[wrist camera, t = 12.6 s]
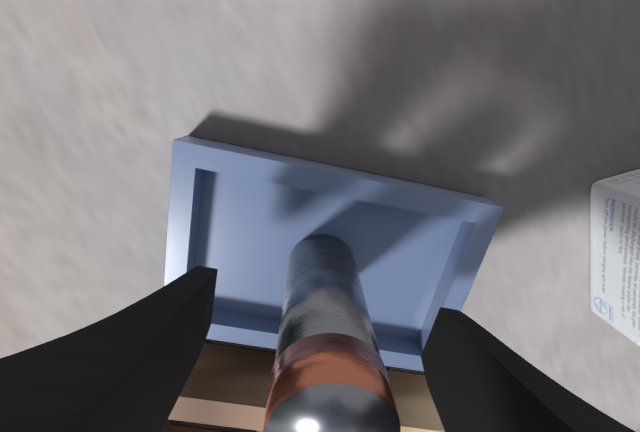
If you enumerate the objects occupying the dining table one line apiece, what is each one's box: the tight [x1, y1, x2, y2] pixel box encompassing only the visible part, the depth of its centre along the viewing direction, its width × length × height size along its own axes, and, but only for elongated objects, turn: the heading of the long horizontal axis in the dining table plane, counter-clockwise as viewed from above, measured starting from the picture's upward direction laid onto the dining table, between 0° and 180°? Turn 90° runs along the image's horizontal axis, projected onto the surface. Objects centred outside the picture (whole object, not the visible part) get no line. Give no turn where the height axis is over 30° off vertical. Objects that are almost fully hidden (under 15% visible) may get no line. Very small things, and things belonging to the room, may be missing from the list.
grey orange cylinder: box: [263, 234, 401, 432], centre depth 10 cm, size 3×3×8 cm
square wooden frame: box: [162, 343, 276, 432], centre depth 15 cm, size 7×7×3 cm
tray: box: [164, 135, 504, 372], centre depth 14 cm, size 12×8×1 cm, turn 78°
